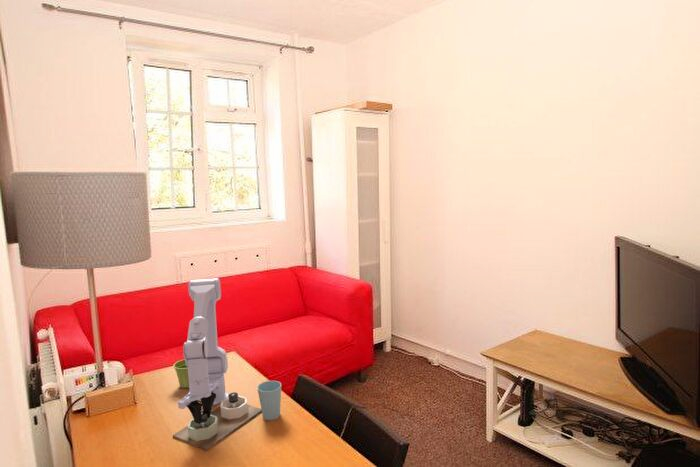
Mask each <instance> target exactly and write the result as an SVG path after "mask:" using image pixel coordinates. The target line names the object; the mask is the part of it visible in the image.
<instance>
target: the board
mask: <svg viewBox="0 0 700 467" xmlns="http://www.w3.org/2000/svg"><path fill="white" fill-rule="evenodd" d="M220 407H221V405H219V406H217V407H216V408H214V409H213V410H211V415H214V416H217V419H218V433H217V434H215V435H214V436H212V437H211V438H209V439H205V440H200V441H195V440H193V439H190V438H189V435H188V425H187V426H185V427H184V428H182V429H180V430H179V431H177V432H175V433H174V434H172V438H173V439H177V440H179V441H181V442H185V443H187V444H189V445H191V446H194V447H197V448H199V449H202V450H204V451H207V452H208V450H210V449H211V448H213V447H214V446H216V445H217V444H219V443H220V442H221V441H224V439H225V438H227V437H229V435H231V434H233V433H234V432H235V431H237V430H238V429H240V428H241V427H243V426H245V424H247V423H248V422H249V421H251V420H252V419H254V418H255V417H257V416H258V415H260V414H261V413H262V409H261V407H260V408H259V407H256V406H253V405H250V404H247V411H248V412H247V413H246V414H245V415H243V416H242V417H240V418H235V419H226V418H223V417H221V408H220Z"/></svg>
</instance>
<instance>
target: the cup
mask: <svg viewBox="0 0 700 467" xmlns="http://www.w3.org/2000/svg"><path fill="white" fill-rule="evenodd" d="M257 394H258V398H259V403H260V409H262V412H261V413H262V418H263V419H264V420H266V421H273V420H274V421H275V420H277V419H278V418H279V417H280V415H281V401H282V400H281V399H282V383H281V382H280V381H277V380H267V381H263V382H261V383H259V384H258V385H257Z"/></svg>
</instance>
